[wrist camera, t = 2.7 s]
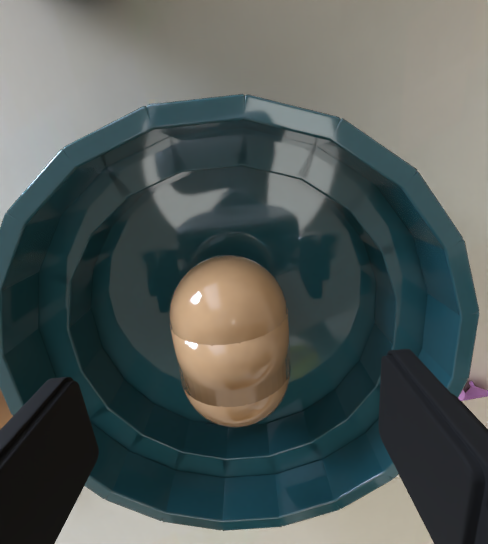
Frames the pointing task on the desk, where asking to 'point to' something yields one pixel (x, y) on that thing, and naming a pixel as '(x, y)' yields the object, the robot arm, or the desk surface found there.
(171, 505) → the bowl
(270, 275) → the beige ridged oval
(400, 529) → the desk surface
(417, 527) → the desk surface
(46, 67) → the desk surface
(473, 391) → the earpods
